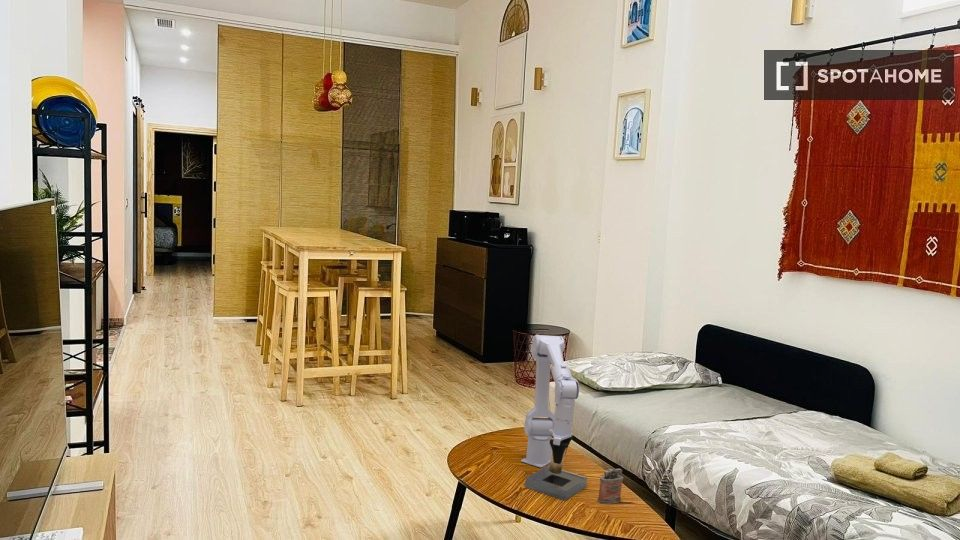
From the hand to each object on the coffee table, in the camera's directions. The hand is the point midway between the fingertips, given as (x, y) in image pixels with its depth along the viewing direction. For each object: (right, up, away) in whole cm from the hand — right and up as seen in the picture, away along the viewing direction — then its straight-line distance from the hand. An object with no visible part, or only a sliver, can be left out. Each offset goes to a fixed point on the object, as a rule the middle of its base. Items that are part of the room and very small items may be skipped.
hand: (558, 460), depth 228 cm
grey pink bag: (+15, -12, -4) cm, 19 cm away
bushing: (-1, -3, +1) cm, 4 cm away
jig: (-1, -9, +3) cm, 10 cm away
